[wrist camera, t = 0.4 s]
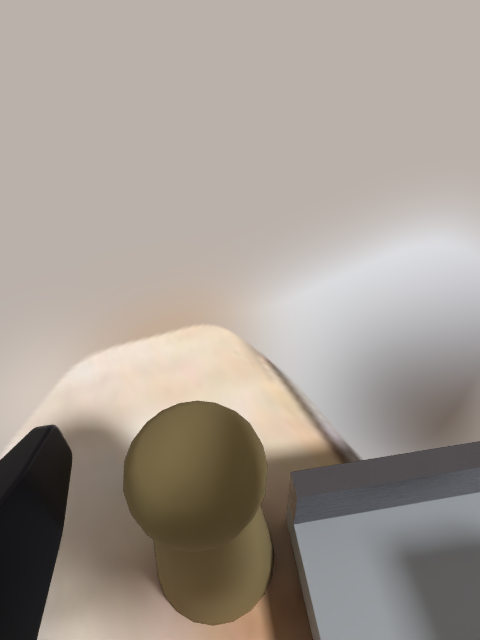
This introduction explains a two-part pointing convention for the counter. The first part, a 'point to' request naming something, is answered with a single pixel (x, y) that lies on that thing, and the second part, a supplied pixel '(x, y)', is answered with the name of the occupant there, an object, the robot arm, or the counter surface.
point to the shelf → (390, 546)
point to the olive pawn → (203, 508)
